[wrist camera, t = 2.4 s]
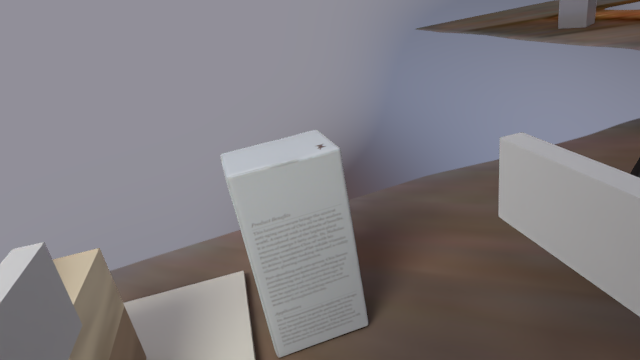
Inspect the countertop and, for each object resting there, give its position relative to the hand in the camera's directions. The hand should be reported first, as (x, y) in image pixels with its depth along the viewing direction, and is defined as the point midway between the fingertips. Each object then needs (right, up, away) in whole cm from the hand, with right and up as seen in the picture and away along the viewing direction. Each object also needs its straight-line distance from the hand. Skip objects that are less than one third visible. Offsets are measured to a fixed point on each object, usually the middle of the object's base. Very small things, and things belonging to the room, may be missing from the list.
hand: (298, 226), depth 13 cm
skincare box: (0, -8, +16) cm, 18 cm away
